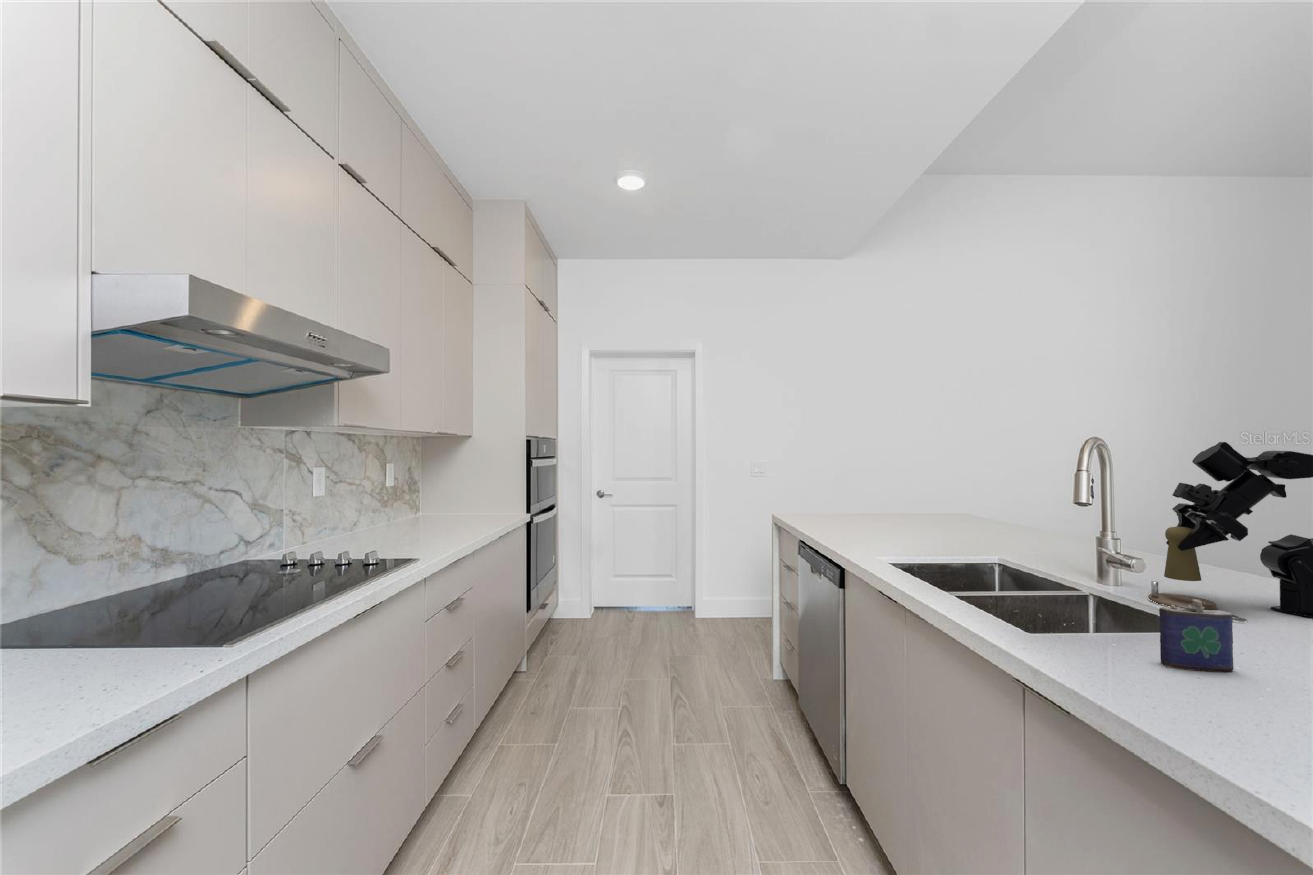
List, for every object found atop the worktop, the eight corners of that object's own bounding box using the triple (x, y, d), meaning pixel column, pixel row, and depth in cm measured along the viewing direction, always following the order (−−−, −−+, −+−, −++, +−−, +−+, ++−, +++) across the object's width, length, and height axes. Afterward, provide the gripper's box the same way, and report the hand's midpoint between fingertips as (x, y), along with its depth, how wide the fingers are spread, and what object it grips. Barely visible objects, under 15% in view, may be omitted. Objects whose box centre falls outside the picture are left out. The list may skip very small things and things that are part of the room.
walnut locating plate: (1170, 594, 133) (1170, 576, 133) (1229, 608, 122) (1229, 587, 122) (1135, 599, 129) (1135, 579, 129) (1193, 613, 119) (1193, 592, 119)
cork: (1203, 582, 121) (1201, 529, 122) (1165, 578, 125) (1163, 527, 125) (1199, 577, 126) (1197, 526, 126) (1162, 573, 130) (1161, 524, 130)
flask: (1227, 667, 91) (1226, 598, 91) (1239, 674, 88) (1239, 604, 88) (1156, 661, 94) (1155, 595, 94) (1166, 668, 91) (1166, 599, 91)
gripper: (1182, 468, 133) (1124, 514, 137) (1225, 472, 116) (1158, 525, 120) (1227, 503, 130) (1167, 549, 134) (1279, 513, 113) (1208, 566, 117)
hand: (1173, 547), depth 126 cm, fingers closed on cork, 5 cm apart
